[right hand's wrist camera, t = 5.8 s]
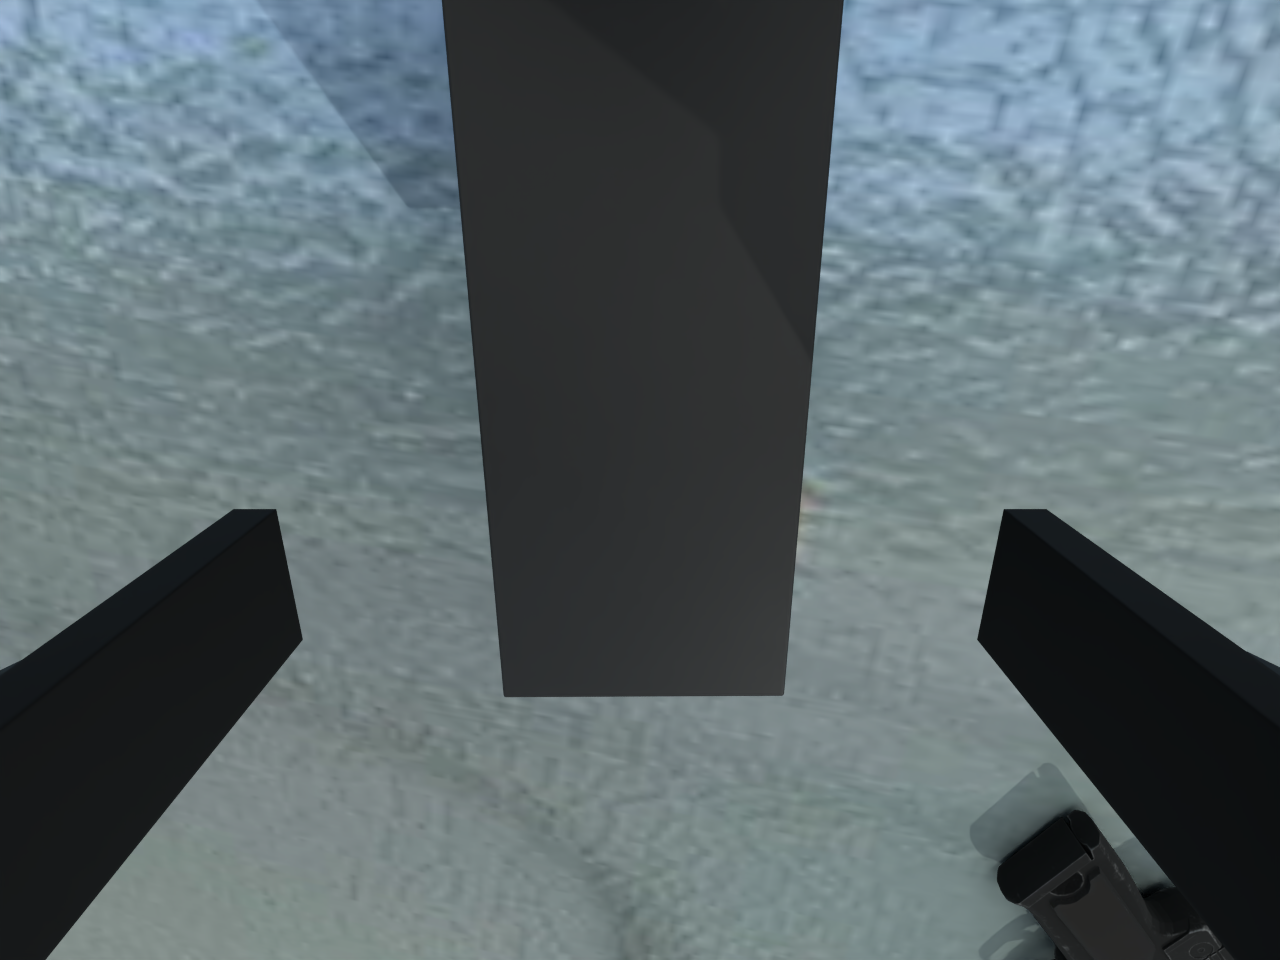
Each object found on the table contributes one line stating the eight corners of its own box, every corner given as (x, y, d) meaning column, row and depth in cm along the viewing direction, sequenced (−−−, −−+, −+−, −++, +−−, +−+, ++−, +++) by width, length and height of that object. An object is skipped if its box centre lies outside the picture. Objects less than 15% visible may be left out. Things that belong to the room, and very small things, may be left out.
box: (727, 512, 23) (784, 696, 14) (554, 513, 23) (503, 698, 14) (764, -288, 16) (925, -931, 7) (513, -288, 16) (357, -932, 7)
